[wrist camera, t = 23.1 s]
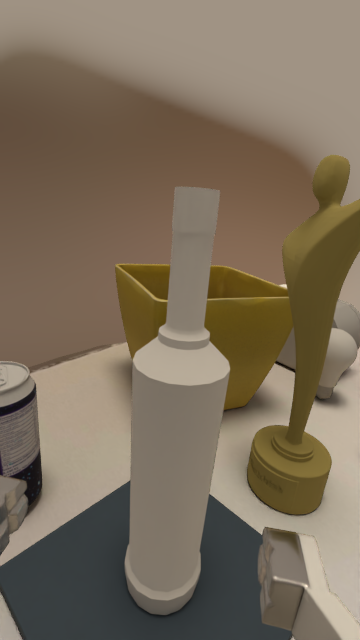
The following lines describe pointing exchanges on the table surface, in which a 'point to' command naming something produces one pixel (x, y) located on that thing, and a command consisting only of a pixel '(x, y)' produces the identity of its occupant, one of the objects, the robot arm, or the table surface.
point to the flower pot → (214, 319)
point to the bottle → (176, 420)
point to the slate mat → (112, 590)
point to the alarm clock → (343, 319)
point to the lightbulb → (336, 361)
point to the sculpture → (308, 343)
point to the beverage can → (19, 428)
